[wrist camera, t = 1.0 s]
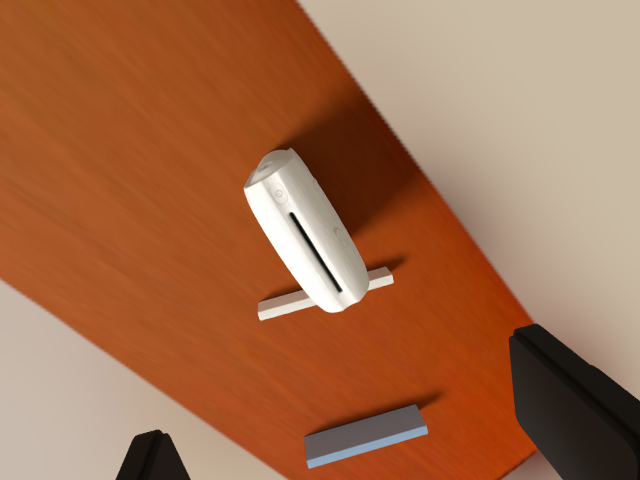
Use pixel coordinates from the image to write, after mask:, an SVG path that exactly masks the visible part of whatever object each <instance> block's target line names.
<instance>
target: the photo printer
mask: <svg viewBox="0 0 640 480" xmlns="http://www.w3.org/2000/svg"><path fill="white" fill-rule="evenodd" d="M244 191H245V195H246V197H247V200H248V203H249V205H250V207H251V209H252V211H253V213H254V215H255V216H256V218H257V220H258V222H259V223H260V225H261V227H262V229H263V230H264V232H265V234H266V235H267V237H268V238H269V240H270V242H271V243H272V245H273V246H274V248H275V249H276V251H277V252H278V254H279V256H280V257H281V259H282V260H283V261H284V263H285V264H286V266H287V267H288V269H289V270H290V272H291V273H292V274H293V276H294V277H295V279H296V280H297V281H298V283H299V284H300V285H301V287H302V288H303V289H304V291H305V292H306V293H307V294H308V296H309V297H310V298H311V299H312V300H313V301H314V302H315V303H316V304H317V305H318V306H320V307H321V308H322V309H323V310H325V311H327V312H340V311H343V310H344V309H345V308H346V307H348V306H350V305H351V304H354V303H357V302H359V301H360V300H361V299H362V298H363V296H364V295H365V294H366V292H367V290H368V288H369V284H370V282H369V277H368V274H367V269H366V267H365V264H364V262H363V260H362V258H361V256H360V253H359V252H358V250H357V248H356V247H355V245H354V243H353V241H352V239H351V237H350V236H349V234H348V232H347V230H346V229H345V227H344V225H343V223H342V222H341V220H340V218H339V216H338V215H337V213H336V211H335V210H334V208H333V207H332V205H331V203H330V202H329V200H328V198H327V197H326V195H325V194H324V192H323V190H322V189H321V187H320V186H319V184H318V183H317V180H316V179H315V178H314V177H313V176H312V175H311V173H310V171H309V170H308V167H307V166H306V165H305V164H304V162H303V161H302V159H301V158H300V157H299V156H298V154H297V153H296V152H295V151H294V150H293V149H292V148H289V149H288V150H275V151H272V152H270V153H268V154H267V155H266V156H264V157H263V159H262V160H261V162H260V163H259V165H258V167H257V169H255V170H253V172H252V173H251V175H250V177H249V179H248V181H247V182H246V184H245V186H244Z"/></svg>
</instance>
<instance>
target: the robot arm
mask: <svg viewBox="0 0 640 480" xmlns="http://www.w3.org/2000/svg"><path fill="white" fill-rule="evenodd" d="M509 348H510V360H511V371H512V382H513V393H514V404H515V414H516V417H517V420H518V422H519V424H520V426H521V427H522V429H523V430H524V431H525V432H526V434H527V435H528V436H529V437H530V439H531V440H532V441H533V442H534V444H535V445H536V446H537V448H538V449H539V450H540V451H541V453H542V454H543V455H544V456H545V458H546V459H547V460H548V461H549V463H550V464H551V465H552V466H553V468H554V469H555V470H556V471H557V473H558V474H559V475H560V476H561V478H562V479H563V480H640V401H639V400H638V399H636V398H635V397H634V396H632V395H631V394H630V393H629V392H628V391H626V390H625V389H624V388H622V387H621V386H620V385H618V384H617V383H616V382H615V381H613V380H612V379H611V378H610V377H608V376H607V375H606V374H604V373H603V372H602V371H601V370H599V369H598V368H596V367H595V366H593V365H589V364H588V363H587V362H586V361H585V360H583V359H582V358H581V357H579V356H578V355H577V354H576V353H574V352H573V351H572V350H571V349H569V348H568V347H567V346H566V345H564V344H563V343H562V342H561V341H559V340H558V339H557V338H555V337H554V336H553V335H552V334H550V333H549V332H548V331H547V330H545V329H544V328H543V327H541V326H540V325H538V324H532V325H528V326H525V327H521V328H518V329H515V330H514V332H513V336H511V337H509ZM116 480H191V479H190V477H189V475H188V473H187V471H186V469H185V467H184V465H183V463H182V460H181V458H180V456H179V454H178V452H177V450H176V448H175V446H174V444H173V442H172V439H171V437H170V436H169V435H168V434H167V433H165V434H163V433H162V431H160V430H154V431H150V432H147V433H143V434H139V435H137V436H135V437H134V439H133V440H132V442H131V445H130V447H129V450H128V452H127V454H126V457H125V459H124V461H123V464H122V466H121V468H120V471H119V473H118V475H117V478H116Z"/></svg>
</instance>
